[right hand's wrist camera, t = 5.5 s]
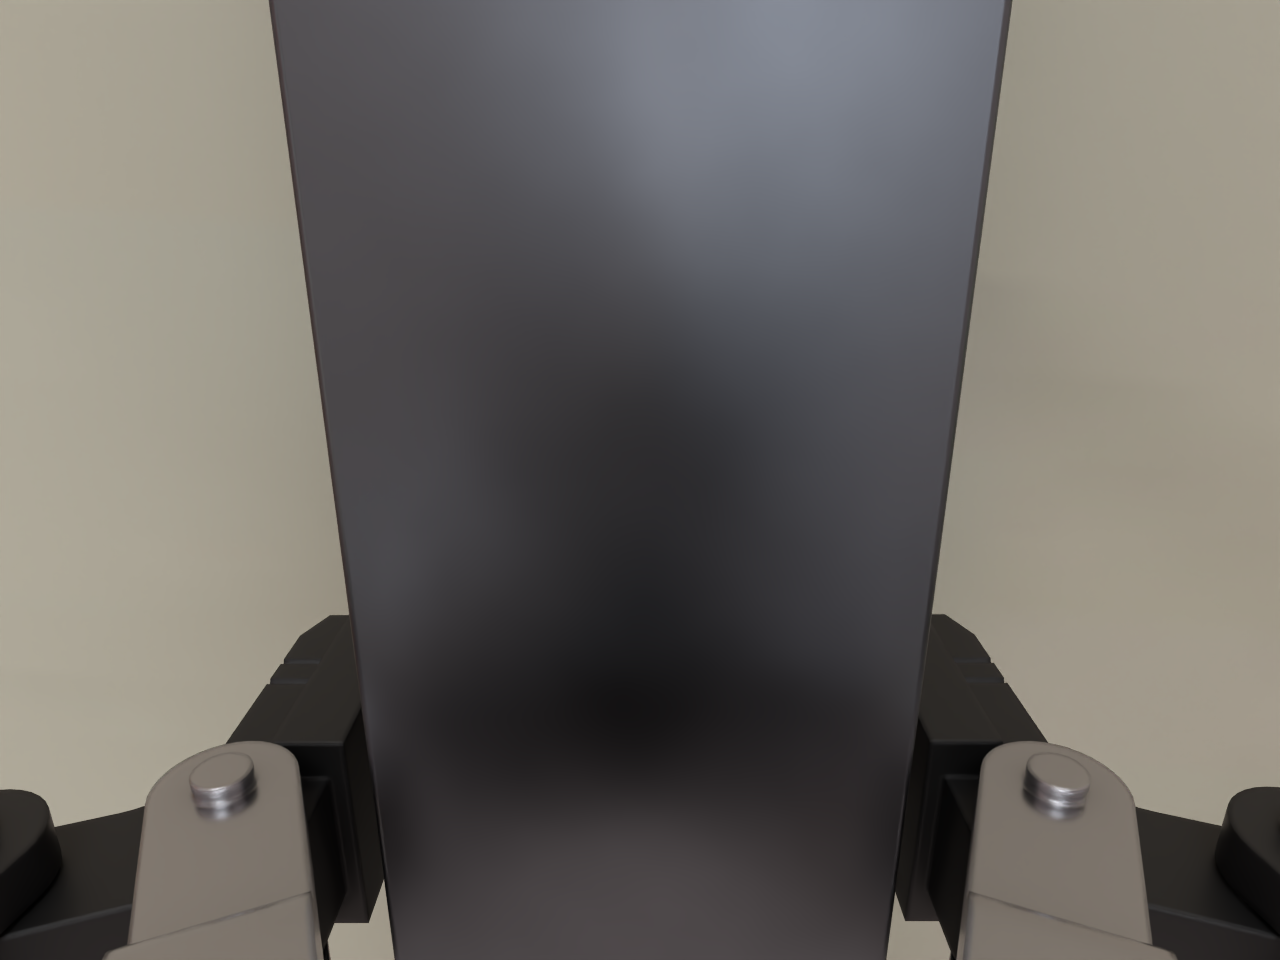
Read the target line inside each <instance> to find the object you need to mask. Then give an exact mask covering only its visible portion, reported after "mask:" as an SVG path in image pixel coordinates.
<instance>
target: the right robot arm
mask: <svg viewBox="0 0 1280 960" xmlns="http://www.w3.org/2000/svg"><path fill="white" fill-rule="evenodd" d="M990 659H991V658H990V657H989V655H988V654H987V652H986V651H985V649H984V648H983V646H982V645H981V644H980V642H979V641H978V639H977V638H976V636H975V635H974V634H973V633H971V632H970V631H968V630H967V629H965V628H964V627H963V626H961V625H960V624H958V623H957V622H955V621H954V620H952V619H951V618H949V617H948V616H947V615H945V614H932V615H931V623H930V631H929V638H928V646H927V653H926V661H925V669H924V676H923V684H922V691H921V699H920V707H919V714H918V722H917V729H916V737H915V745H914V752H913V760H912V767H911V775H910V783H909V790H908V798H907V805H906V813H905V821H904V828H903V836H902V843H901V851H900V858H899V866H898V874H897V881H896V889H895V892H896V895H897V898H898V901H899V904H900V907H901V910H902V913H903V916H904V919H905V921H939V922H940V924H941V927H942V930H943V932H944V935H945V937H946V940H947V943H948V945H949V948H950V950H951V951H950V957H949V960H1280V787H1255V788H1250V789H1246V790H1243V791H1241V792H1239V793H1237V794H1236V795H1235V796H1234V797H1232V798H1231V800H1230V802H1229V804H1228V807H1227V810H1226V814H1225V817H1224V821H1223V824H1222V826H1219V825H1214V824H1209V823H1205V822H1200V821H1195V820H1190V819H1186V818H1181V817H1176V816H1172V815H1167V814H1162V813H1158V812H1153V811H1149V810H1145V809H1141V808H1138V807H1135V803H1134V799H1133V796H1132V794H1131V792H1130V790H1129V789H1128V787H1127V786H1126V785H1125V783H1124V782H1123V781H1122V780H1121V779H1120V778H1119V777H1118V776H1117V775H1116V774H1115V773H1114V772H1113V771H1111V770H1110V769H1109V768H1107V767H1106V766H1105V765H1103V764H1101V763H1100V762H1098V761H1096V760H1095V759H1093V758H1091V757H1089V756H1087V755H1085V754H1083V753H1081V752H1078V751H1075V750H1073V749H1070V748H1067V747H1063V746H1060V745H1056V744H1051V743H1048V742H1047V740H1046V739H1045V738H1044V736H1043V735H1042V733H1041V732H1040V730H1039V729H1038V727H1037V726H1036V724H1035V723H1034V721H1033V720H1032V718H1031V717H1030V716H1029V714H1028V713H1027V711H1026V710H1025V708H1024V707H1023V705H1022V704H1021V702H1020V701H1019V699H1018V698H1017V696H1016V695H1015V693H1014V692H1013V691H1012V689H1011V688H1010V686H1009V685H1008V683H1004V677H1003V676H1002V674H1001V673H1000V671H999V670H998V668H997V667H996V666H995V664H994V663H991V661H990ZM383 880H384V874H383V867H382V859H381V851H380V844H379V836H378V829H377V821H376V813H375V806H374V798H373V790H372V783H371V775H370V768H369V760H368V752H367V745H366V737H365V730H364V722H363V714H362V707H361V699H360V692H359V684H358V676H357V669H356V661H355V654H354V646H353V638H352V631H351V623H350V615H330V616H328V617H327V618H325V619H324V620H323V621H321V622H320V623H318V624H317V625H315V626H314V627H312V628H311V629H309V630H308V631H306V632H305V633H304V634H302V635H301V636H300V637H299V638H298V640H297V641H296V643H295V644H294V646H293V647H292V648H291V650H290V651H289V653H288V654H287V656H286V657H285V659H284V664H280V666H279V667H278V669H277V670H276V672H275V673H274V675H273V676H272V677H271V679H270V684H267V685H266V686H265V688H264V689H263V690H262V692H261V693H260V695H259V696H258V698H257V699H256V701H255V702H254V704H253V705H252V706H251V708H250V709H249V711H248V712H247V714H246V715H245V717H244V718H243V719H242V721H241V722H240V724H239V725H238V727H237V728H236V730H235V731H234V733H233V734H232V735H231V737H230V738H229V740H228V741H227V743H226V744H224V745H220V746H217V747H213V748H210V749H207V750H205V751H202V752H199V753H197V754H195V755H193V756H191V757H189V758H187V759H185V760H184V761H182V762H180V763H179V764H177V765H175V766H174V767H173V768H171V769H170V770H169V771H167V772H166V773H165V774H164V775H163V776H162V777H161V778H160V779H159V780H158V781H157V782H156V783H155V785H154V786H153V787H152V789H151V790H150V792H149V794H148V796H147V799H146V803H145V806H143V807H140V808H137V809H134V810H130V811H126V812H123V813H119V814H114V815H109V816H105V817H100V818H95V819H91V820H86V821H81V822H77V823H72V824H67V825H63V826H58V827H54V824H53V821H52V817H51V814H50V810H49V807H48V805H47V803H46V801H45V800H44V799H42V798H41V797H40V796H39V795H36V794H34V793H32V792H28V791H24V790H12V789H8V790H0V960H331V957H330V951H329V945H328V938H329V935H330V933H331V930H332V928H333V925H334V923H369V920H370V917H371V915H372V912H373V909H374V906H375V903H376V900H377V897H378V894H379V892H380V889H381V886H382V883H383Z"/></svg>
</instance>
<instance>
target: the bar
mask: <svg viewBox="0 0 1280 960" xmlns="http://www.w3.org/2000/svg"><path fill="white" fill-rule="evenodd" d="M269 7H270V14H271V22H272V30H273V37H274V45H275V52H276V60H277V68H278V75H279V83H280V90H281V98H282V106H283V113H284V121H285V129H286V136H287V144H288V151H289V159H290V167H291V174H292V182H293V189H294V197H295V205H296V212H297V220H298V227H299V235H300V243H301V250H302V258H303V265H304V273H305V281H306V288H307V296H308V304H309V311H310V319H311V326H312V334H313V342H314V349H315V357H316V364H317V372H318V380H319V387H320V395H321V402H322V410H323V418H324V425H325V433H326V440H327V448H328V456H329V463H330V471H331V479H332V486H333V494H334V501H335V509H336V517H337V524H338V532H339V539H340V547H341V555H342V562H343V570H344V577H345V585H346V593H347V600H348V608H349V615H350V623H351V631H352V638H353V646H354V654H355V661H356V669H357V676H358V684H359V692H360V699H361V707H362V714H363V722H364V730H365V737H366V745H367V752H368V760H369V768H370V775H371V783H372V790H373V798H374V806H375V813H376V821H377V829H378V836H379V844H380V851H381V859H382V867H383V874H384V882H385V889H386V897H387V905H388V912H389V920H390V927H391V935H392V943H393V950H394V958H395V960H886V957H887V950H888V942H889V934H890V927H891V919H892V912H893V904H894V896H895V889H896V881H897V874H898V866H899V858H900V851H901V843H902V836H903V828H904V821H905V813H906V805H907V798H908V790H909V783H910V775H911V767H912V760H913V752H914V745H915V737H916V729H917V722H918V714H919V707H920V699H921V691H922V684H923V676H924V669H925V661H926V653H927V646H928V638H929V631H930V623H931V615H932V608H933V600H934V593H935V585H936V577H937V570H938V562H939V555H940V547H941V539H942V532H943V524H944V517H945V509H946V501H947V494H948V486H949V479H950V471H951V463H952V456H953V448H954V441H955V433H956V425H957V418H958V410H959V403H960V395H961V387H962V380H963V372H964V365H965V357H966V349H967V342H968V334H969V327H970V319H971V311H972V304H973V296H974V289H975V281H976V273H977V266H978V258H979V251H980V243H981V235H982V228H983V220H984V213H985V205H986V197H987V190H988V182H989V175H990V167H991V159H992V152H993V144H994V137H995V129H996V121H997V114H998V106H999V99H1000V91H1001V83H1002V76H1003V68H1004V61H1005V53H1006V45H1007V38H1008V30H1009V23H1010V15H1011V7H1012V0H269Z"/></svg>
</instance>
